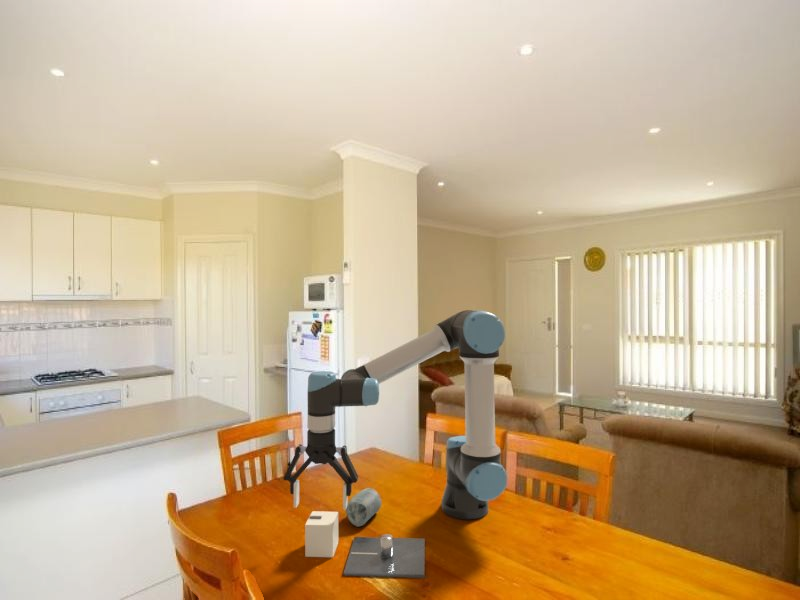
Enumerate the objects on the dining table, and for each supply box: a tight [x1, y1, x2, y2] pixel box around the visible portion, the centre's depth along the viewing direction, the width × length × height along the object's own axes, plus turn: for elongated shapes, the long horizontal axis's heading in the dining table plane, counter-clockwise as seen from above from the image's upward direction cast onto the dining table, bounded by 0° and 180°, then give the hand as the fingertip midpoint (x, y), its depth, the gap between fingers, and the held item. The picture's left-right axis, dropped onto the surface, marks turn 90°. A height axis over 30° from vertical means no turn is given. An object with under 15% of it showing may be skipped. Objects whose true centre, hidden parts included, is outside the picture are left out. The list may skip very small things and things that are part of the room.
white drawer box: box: [304, 510, 339, 558], centre depth 119 cm, size 7×7×9 cm
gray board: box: [343, 533, 426, 579], centre depth 115 cm, size 20×16×5 cm
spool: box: [345, 487, 382, 527], centre depth 136 cm, size 14×10×10 cm
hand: (320, 506), depth 119 cm, fingers open, 13 cm apart
